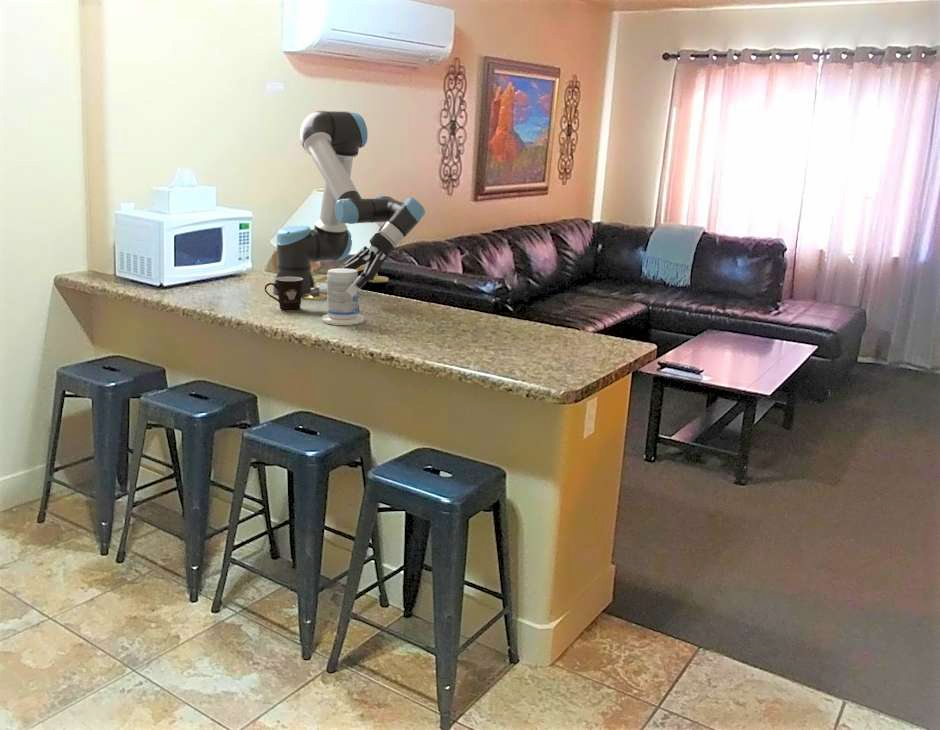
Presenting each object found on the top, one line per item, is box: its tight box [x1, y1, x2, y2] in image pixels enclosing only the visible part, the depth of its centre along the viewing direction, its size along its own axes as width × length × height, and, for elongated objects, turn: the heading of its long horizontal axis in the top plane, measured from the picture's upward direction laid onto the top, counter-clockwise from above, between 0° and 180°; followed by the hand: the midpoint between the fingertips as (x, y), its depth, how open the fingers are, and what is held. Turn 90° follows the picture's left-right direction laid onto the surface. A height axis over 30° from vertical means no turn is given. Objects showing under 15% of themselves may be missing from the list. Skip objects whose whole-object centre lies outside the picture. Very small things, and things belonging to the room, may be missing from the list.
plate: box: [321, 313, 365, 326], centre depth 278 cm, size 13×13×1 cm
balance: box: [301, 264, 389, 312], centre depth 293 cm, size 8×30×15 cm, turn 120°
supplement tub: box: [326, 267, 359, 320], centre depth 276 cm, size 10×10×15 cm
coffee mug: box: [264, 277, 303, 312], centre depth 292 cm, size 12×9×10 cm
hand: (340, 290), depth 275 cm, fingers open, 13 cm apart
